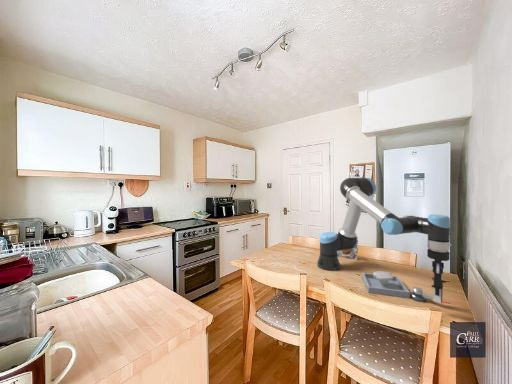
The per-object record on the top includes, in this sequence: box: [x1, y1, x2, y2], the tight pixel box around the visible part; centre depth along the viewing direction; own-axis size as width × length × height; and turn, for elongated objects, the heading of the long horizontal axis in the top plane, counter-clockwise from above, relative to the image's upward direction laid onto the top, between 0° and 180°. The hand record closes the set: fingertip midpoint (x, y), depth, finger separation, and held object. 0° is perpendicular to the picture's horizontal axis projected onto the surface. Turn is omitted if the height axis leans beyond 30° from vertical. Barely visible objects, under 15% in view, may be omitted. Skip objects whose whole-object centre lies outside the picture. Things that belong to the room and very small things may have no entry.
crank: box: [412, 276, 447, 304], centre depth 104 cm, size 12×4×11 cm, turn 40°
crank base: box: [409, 291, 426, 303], centre depth 108 cm, size 6×6×2 cm
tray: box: [361, 272, 411, 299], centre depth 120 cm, size 19×19×3 cm
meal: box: [337, 245, 359, 261], centre depth 166 cm, size 15×4×13 cm, turn 53°
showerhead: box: [372, 270, 394, 286], centre depth 121 cm, size 9×7×10 cm
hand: (437, 301), depth 96 cm, fingers closed
